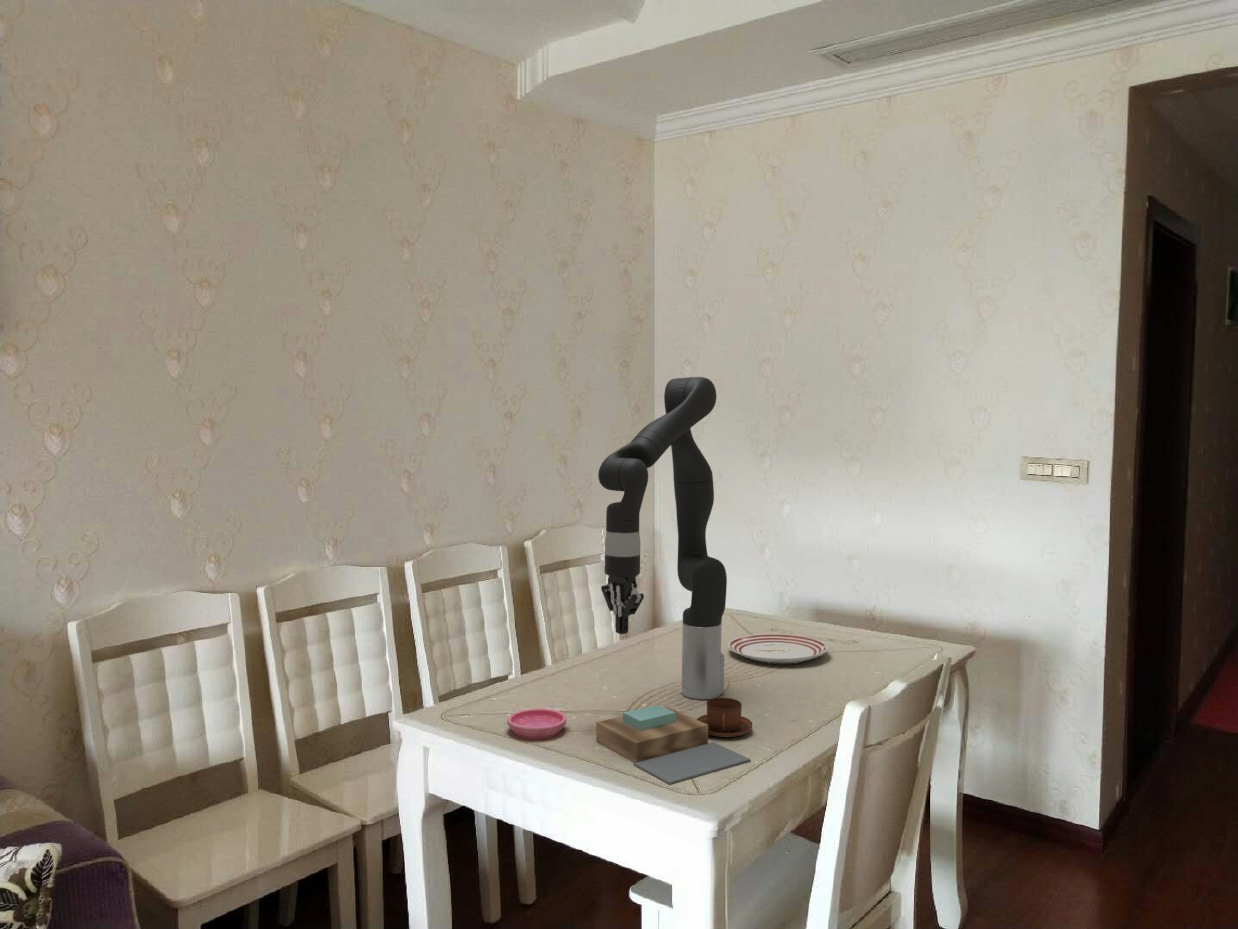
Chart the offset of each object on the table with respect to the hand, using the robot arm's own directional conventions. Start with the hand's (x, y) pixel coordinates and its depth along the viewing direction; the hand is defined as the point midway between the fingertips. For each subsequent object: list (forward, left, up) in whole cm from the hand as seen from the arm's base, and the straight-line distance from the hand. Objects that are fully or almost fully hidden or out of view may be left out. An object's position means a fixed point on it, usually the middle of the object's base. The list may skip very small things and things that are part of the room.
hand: (621, 633), depth 199 cm
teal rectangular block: (0, +10, -16) cm, 19 cm away
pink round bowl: (+16, -8, -21) cm, 27 cm away
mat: (0, +24, -20) cm, 31 cm away
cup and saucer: (-17, +14, -21) cm, 30 cm away
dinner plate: (-69, -23, -21) cm, 76 cm away
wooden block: (0, +11, -20) cm, 23 cm away
